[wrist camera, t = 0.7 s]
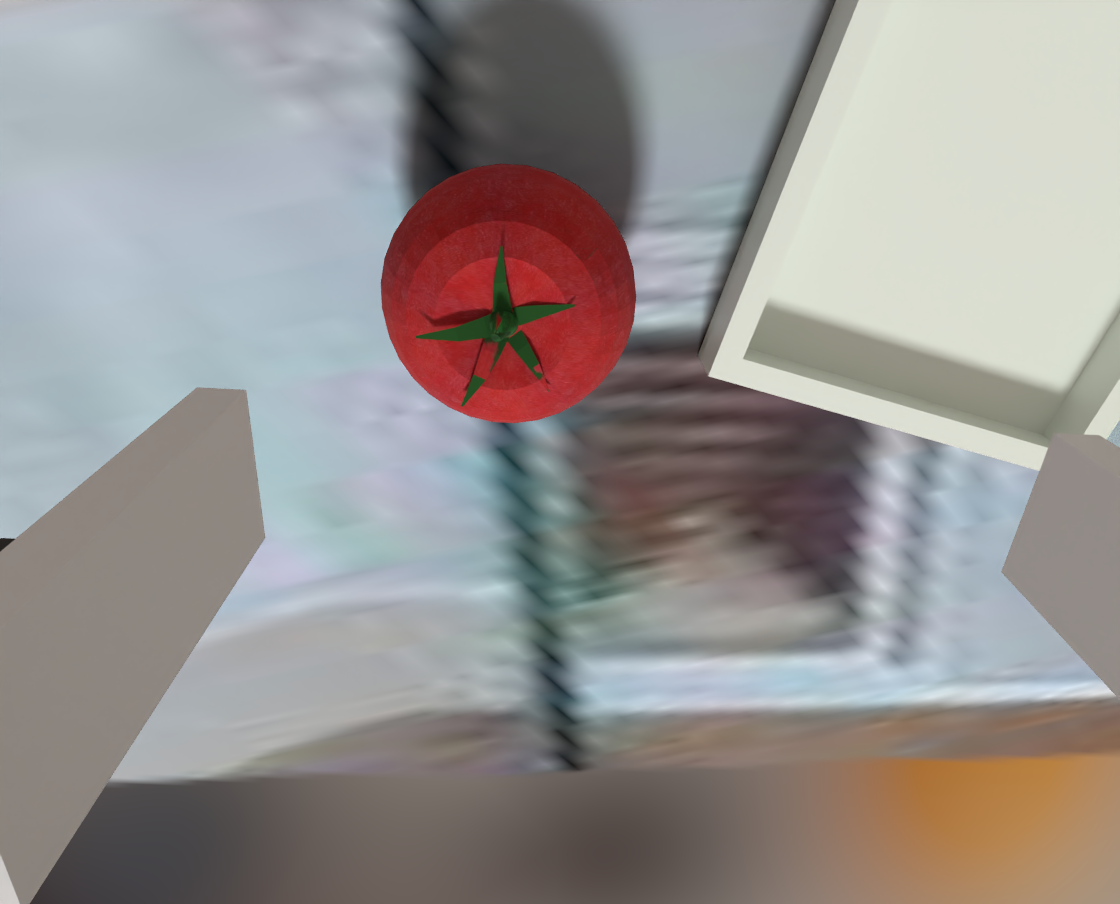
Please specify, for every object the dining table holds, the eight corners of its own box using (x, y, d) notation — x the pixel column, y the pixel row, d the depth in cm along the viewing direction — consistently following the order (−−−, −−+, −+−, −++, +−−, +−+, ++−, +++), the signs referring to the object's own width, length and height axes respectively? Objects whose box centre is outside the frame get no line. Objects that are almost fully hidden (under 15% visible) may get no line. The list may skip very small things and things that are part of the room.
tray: (697, 355, 31) (708, 375, 29) (970, -345, 22) (1017, -396, 19) (1042, 455, 33) (1078, 482, 30) (1426, -151, 24) (1516, -176, 21)
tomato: (496, 420, 32) (477, 515, 25) (355, 251, 29) (287, 303, 22) (670, 300, 30) (705, 366, 23) (537, 103, 27) (528, 106, 20)
